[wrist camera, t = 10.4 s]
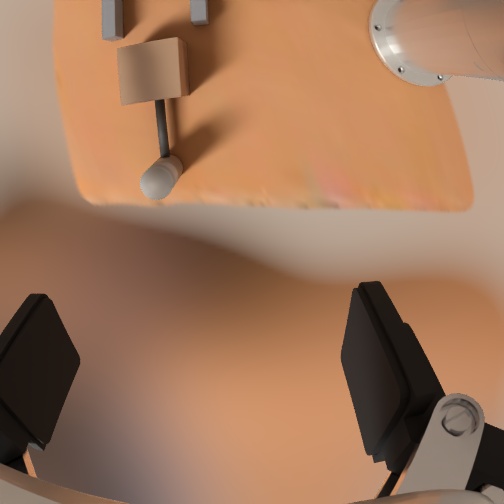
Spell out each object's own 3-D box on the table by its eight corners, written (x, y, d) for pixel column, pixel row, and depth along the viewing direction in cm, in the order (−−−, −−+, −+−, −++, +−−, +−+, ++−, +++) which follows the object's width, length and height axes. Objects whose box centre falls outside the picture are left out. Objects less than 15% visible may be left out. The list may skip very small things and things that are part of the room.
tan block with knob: (186, 43, 28) (174, 34, 22) (197, 177, 36) (188, 197, 30) (133, 52, 28) (110, 47, 22) (147, 182, 36) (129, 202, 30)
